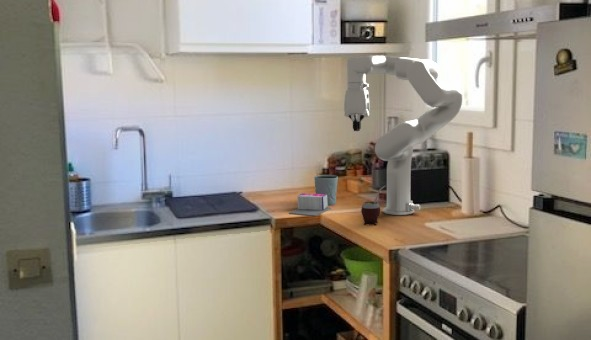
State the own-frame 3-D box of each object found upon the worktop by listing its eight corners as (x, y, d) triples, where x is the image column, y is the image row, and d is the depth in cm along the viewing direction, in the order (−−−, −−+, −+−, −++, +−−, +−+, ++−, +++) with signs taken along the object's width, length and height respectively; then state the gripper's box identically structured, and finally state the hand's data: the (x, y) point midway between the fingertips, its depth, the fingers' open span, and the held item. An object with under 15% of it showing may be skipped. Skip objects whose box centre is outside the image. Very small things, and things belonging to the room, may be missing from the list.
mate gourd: (357, 223, 247) (357, 184, 244) (374, 220, 251) (374, 182, 248) (369, 227, 240) (369, 187, 238) (386, 224, 244) (386, 184, 242)
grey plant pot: (310, 203, 283) (309, 176, 282) (328, 200, 289) (327, 173, 287) (324, 207, 275) (324, 179, 273) (342, 203, 281) (342, 176, 279)
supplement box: (323, 196, 266) (296, 196, 270) (323, 210, 267) (297, 209, 271) (327, 193, 272) (301, 193, 275) (327, 207, 273) (302, 206, 276)
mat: (331, 208, 272) (331, 207, 272) (315, 216, 259) (315, 215, 259) (305, 206, 278) (305, 205, 278) (288, 213, 265) (288, 212, 265)
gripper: (376, 86, 269) (376, 130, 272) (343, 86, 276) (343, 129, 278) (370, 87, 262) (370, 132, 265) (336, 87, 269) (336, 131, 272)
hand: (356, 130), depth 272 cm, fingers closed
